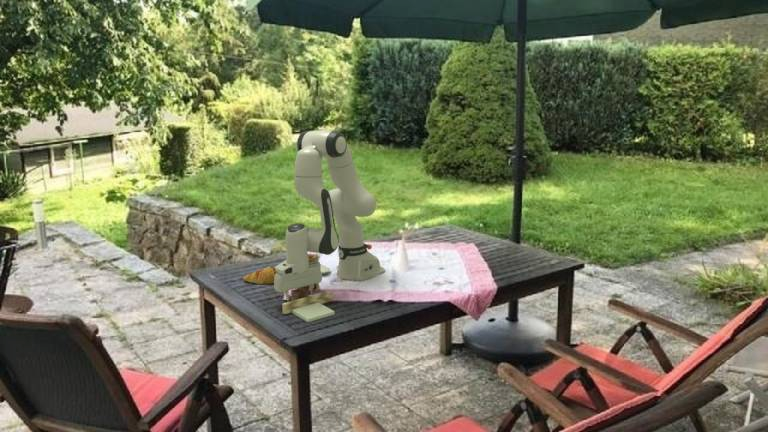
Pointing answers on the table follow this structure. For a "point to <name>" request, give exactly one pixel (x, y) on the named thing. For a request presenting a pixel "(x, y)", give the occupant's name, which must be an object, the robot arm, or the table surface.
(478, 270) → the table surface
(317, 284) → the candy box
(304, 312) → the tile
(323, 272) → the cream elongated piece
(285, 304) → the plank
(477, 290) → the table surface
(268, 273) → the croissant
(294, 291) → the cube
